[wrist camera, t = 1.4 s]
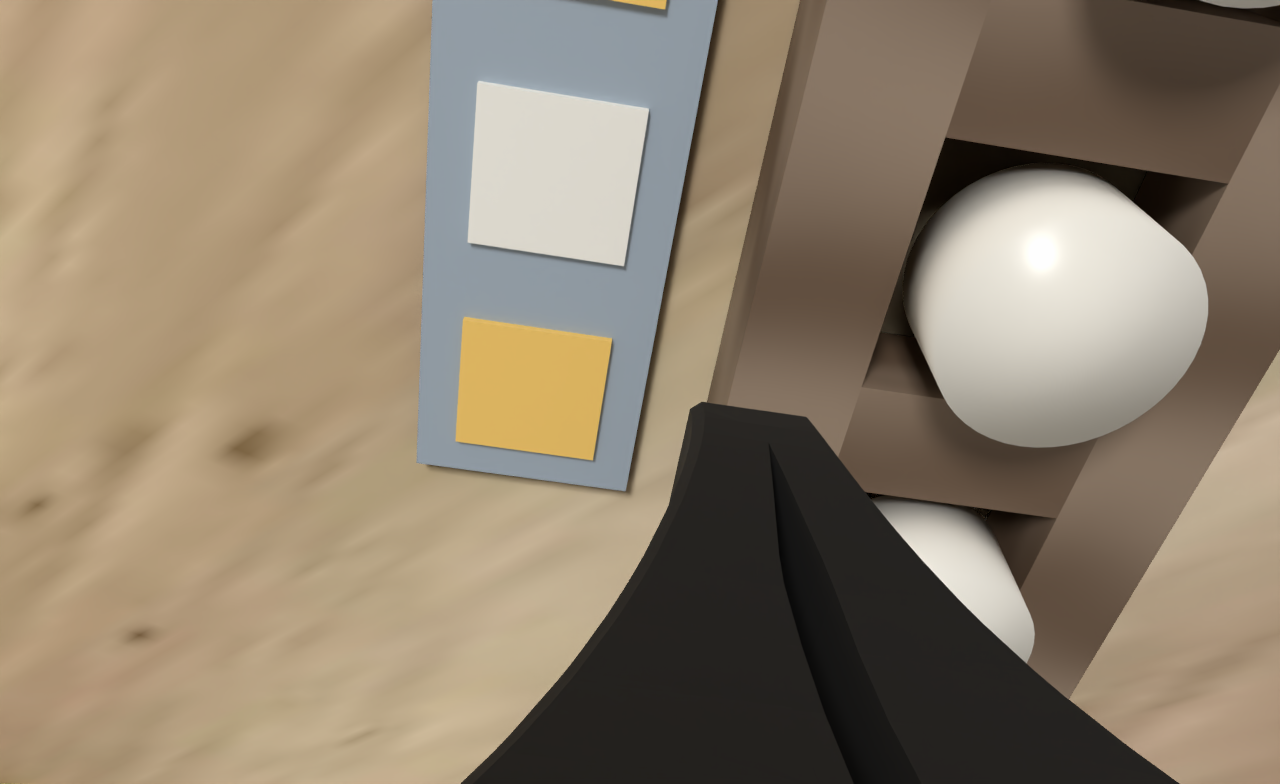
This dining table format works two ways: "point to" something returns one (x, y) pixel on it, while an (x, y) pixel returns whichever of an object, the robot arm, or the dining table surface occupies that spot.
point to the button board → (886, 218)
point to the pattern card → (550, 226)
